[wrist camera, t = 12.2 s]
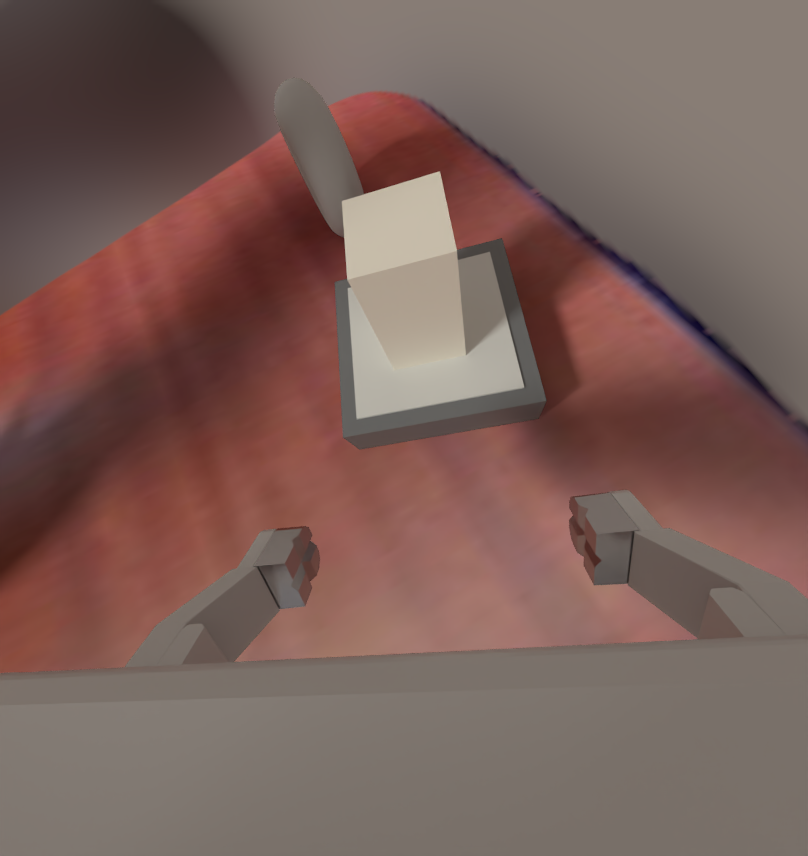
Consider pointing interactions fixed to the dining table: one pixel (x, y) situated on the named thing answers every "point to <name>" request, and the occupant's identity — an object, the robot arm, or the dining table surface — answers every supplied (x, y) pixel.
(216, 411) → the dining table surface
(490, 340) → the charcoal base
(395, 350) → the cream block
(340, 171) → the donut
